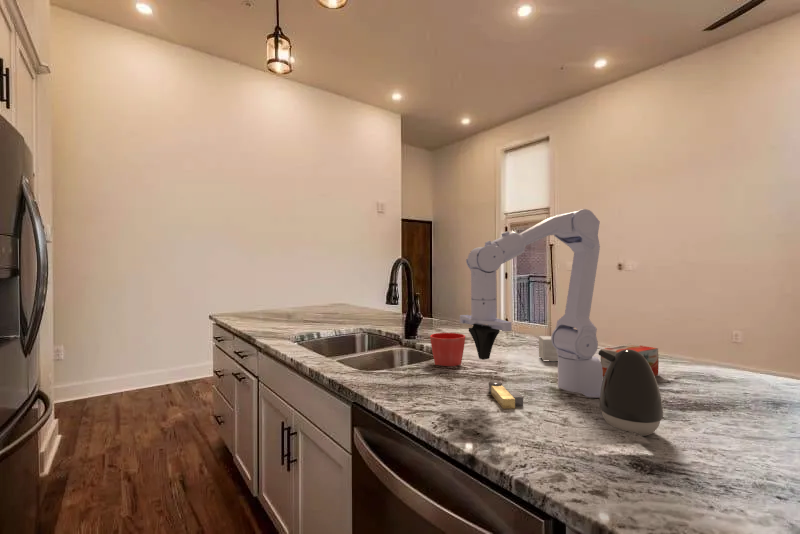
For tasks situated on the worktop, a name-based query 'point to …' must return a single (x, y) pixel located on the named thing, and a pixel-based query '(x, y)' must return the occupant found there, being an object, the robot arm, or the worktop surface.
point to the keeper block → (517, 398)
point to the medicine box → (647, 352)
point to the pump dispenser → (630, 393)
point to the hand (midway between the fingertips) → (484, 358)
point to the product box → (547, 349)
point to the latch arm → (501, 395)
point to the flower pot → (447, 348)
